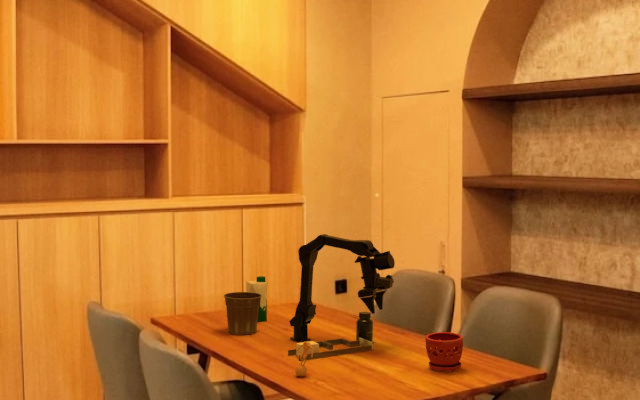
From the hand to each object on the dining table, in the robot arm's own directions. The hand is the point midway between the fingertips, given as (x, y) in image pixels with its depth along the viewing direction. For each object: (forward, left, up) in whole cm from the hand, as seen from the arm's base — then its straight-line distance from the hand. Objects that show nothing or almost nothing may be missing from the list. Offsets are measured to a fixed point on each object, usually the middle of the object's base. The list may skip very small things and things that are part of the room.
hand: (377, 311), depth 302 cm
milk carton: (-71, -18, -15) cm, 75 cm away
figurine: (+17, -42, -15) cm, 48 cm away
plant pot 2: (+34, +6, -15) cm, 38 cm away
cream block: (-5, -28, -15) cm, 33 cm away
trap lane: (-8, -18, -15) cm, 25 cm away
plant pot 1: (-53, -33, -15) cm, 65 cm away
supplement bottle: (-13, +3, -15) cm, 20 cm away
